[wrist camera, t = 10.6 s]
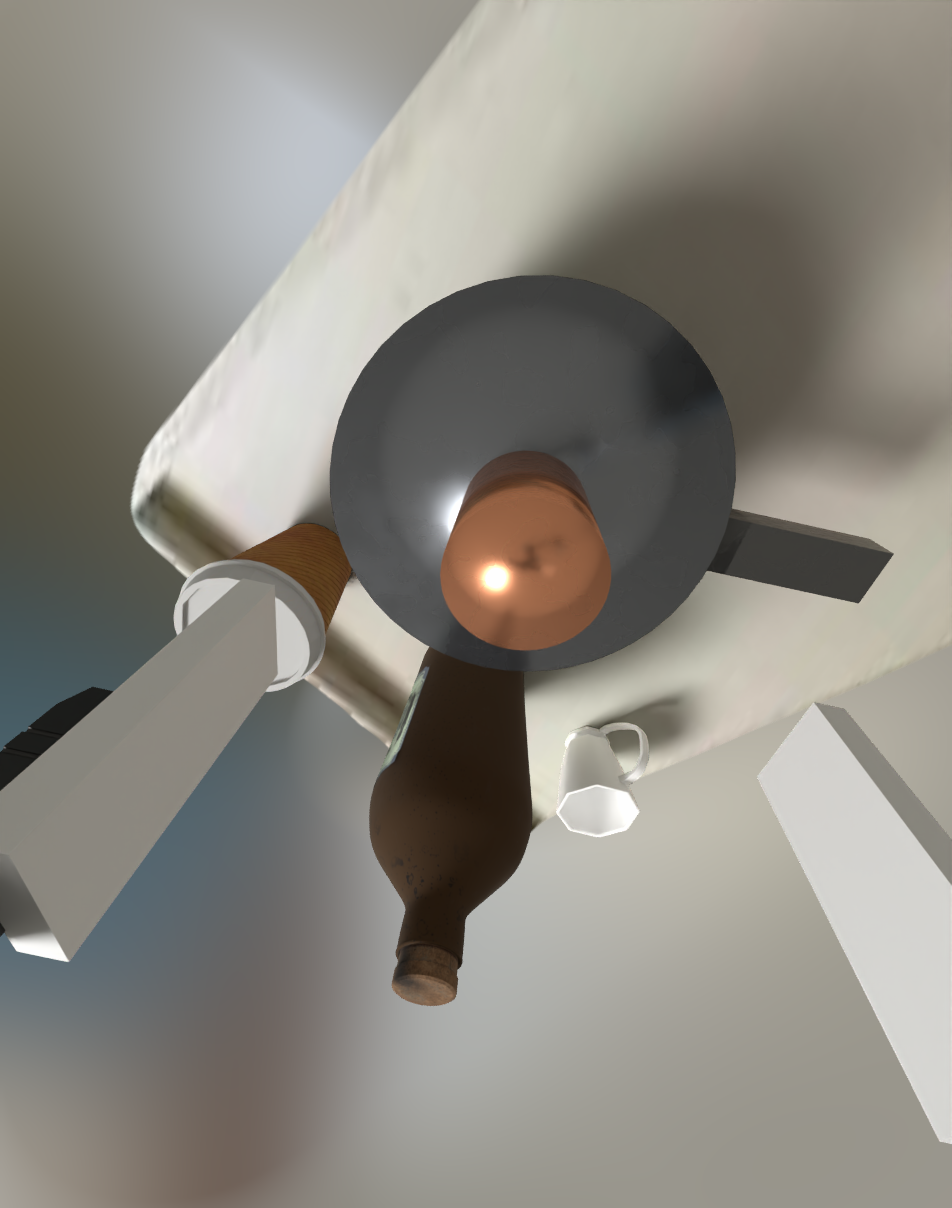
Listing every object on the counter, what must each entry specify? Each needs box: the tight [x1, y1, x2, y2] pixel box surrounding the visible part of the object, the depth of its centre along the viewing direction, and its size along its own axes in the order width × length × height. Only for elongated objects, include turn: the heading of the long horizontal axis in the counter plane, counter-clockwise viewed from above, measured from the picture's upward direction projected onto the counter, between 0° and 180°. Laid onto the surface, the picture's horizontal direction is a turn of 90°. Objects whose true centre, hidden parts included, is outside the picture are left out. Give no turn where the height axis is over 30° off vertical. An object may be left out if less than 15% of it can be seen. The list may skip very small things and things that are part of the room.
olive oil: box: [369, 647, 532, 1006], centre depth 33 cm, size 11×11×25 cm
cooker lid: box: [330, 275, 736, 671], centre depth 20 cm, size 19×19×8 cm
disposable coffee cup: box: [174, 523, 352, 692], centre depth 35 cm, size 10×10×12 cm
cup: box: [556, 723, 649, 837], centre depth 43 cm, size 7×10×8 cm
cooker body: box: [707, 509, 893, 603], centre depth 29 cm, size 28×19×12 cm, turn 79°
